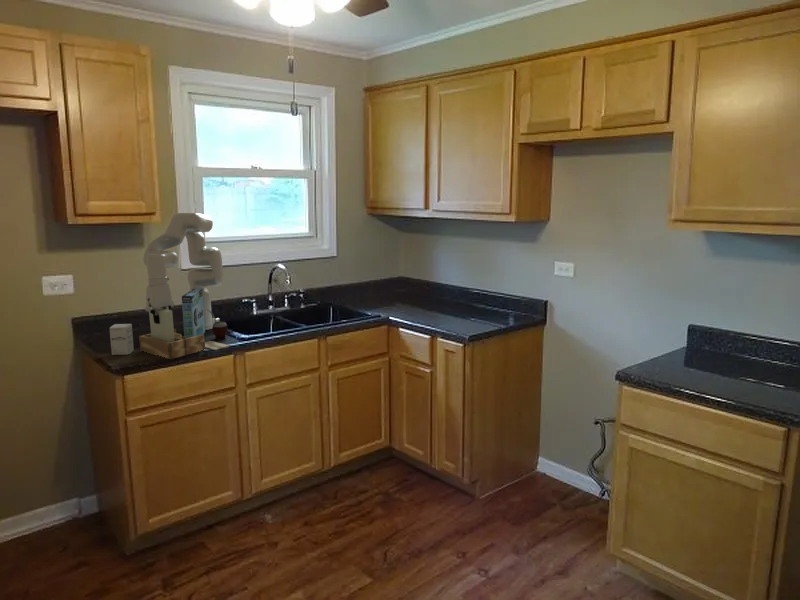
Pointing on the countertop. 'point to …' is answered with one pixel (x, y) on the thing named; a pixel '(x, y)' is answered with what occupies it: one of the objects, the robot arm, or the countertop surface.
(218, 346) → the cork board
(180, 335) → the offcut pine
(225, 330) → the mate gourd
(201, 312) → the gum box
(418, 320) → the countertop surface
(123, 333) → the supplement box
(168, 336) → the sage panel
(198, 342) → the oak rack
